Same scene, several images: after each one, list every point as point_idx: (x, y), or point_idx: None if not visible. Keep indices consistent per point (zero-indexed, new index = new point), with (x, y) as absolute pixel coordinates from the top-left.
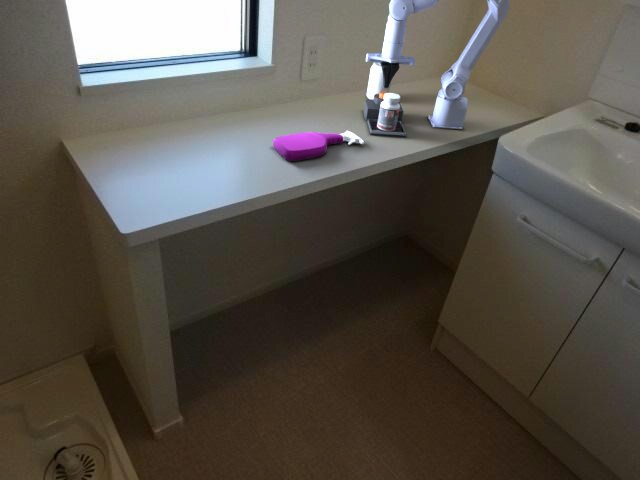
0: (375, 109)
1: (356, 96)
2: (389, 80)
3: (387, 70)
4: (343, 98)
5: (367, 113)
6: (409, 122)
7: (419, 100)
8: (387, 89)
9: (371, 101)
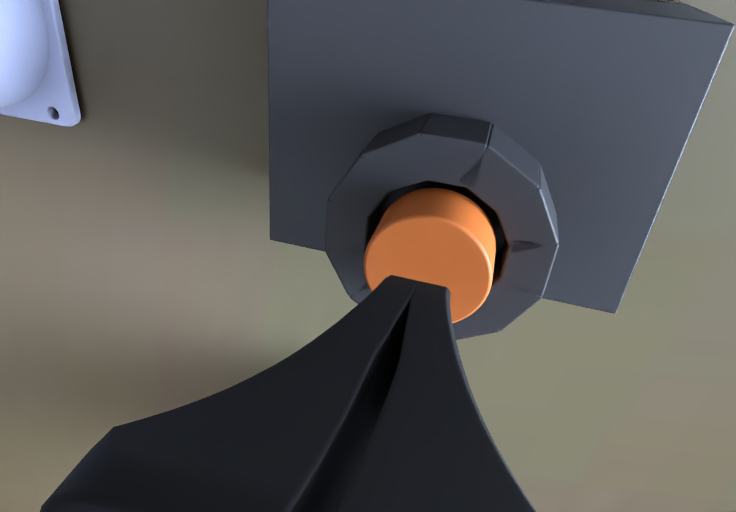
0: (621, 10)
1: (539, 479)
2: (366, 331)
3: (415, 483)
4: (664, 468)
5: (709, 15)
6: (233, 14)
7: (133, 381)
8: None
9: (571, 246)
